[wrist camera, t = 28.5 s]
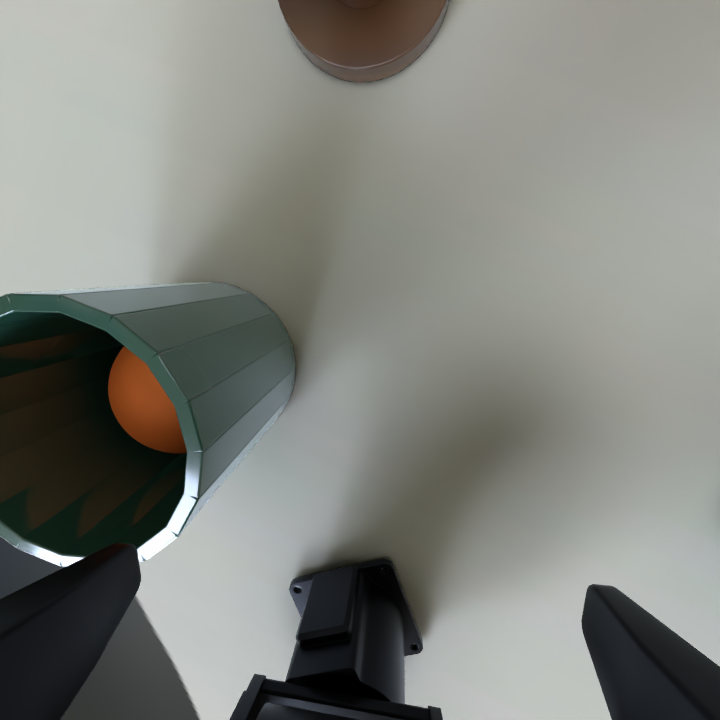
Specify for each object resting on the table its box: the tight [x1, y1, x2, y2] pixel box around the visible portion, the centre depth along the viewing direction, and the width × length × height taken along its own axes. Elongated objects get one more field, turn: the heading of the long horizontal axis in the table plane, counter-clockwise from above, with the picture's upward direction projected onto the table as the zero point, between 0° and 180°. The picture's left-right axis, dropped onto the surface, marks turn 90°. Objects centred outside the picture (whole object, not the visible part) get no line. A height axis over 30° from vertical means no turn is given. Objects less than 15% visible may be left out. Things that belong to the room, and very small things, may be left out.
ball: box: [108, 346, 187, 453], centre depth 18 cm, size 6×6×6 cm
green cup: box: [0, 282, 296, 567], centre depth 16 cm, size 9×9×10 cm
